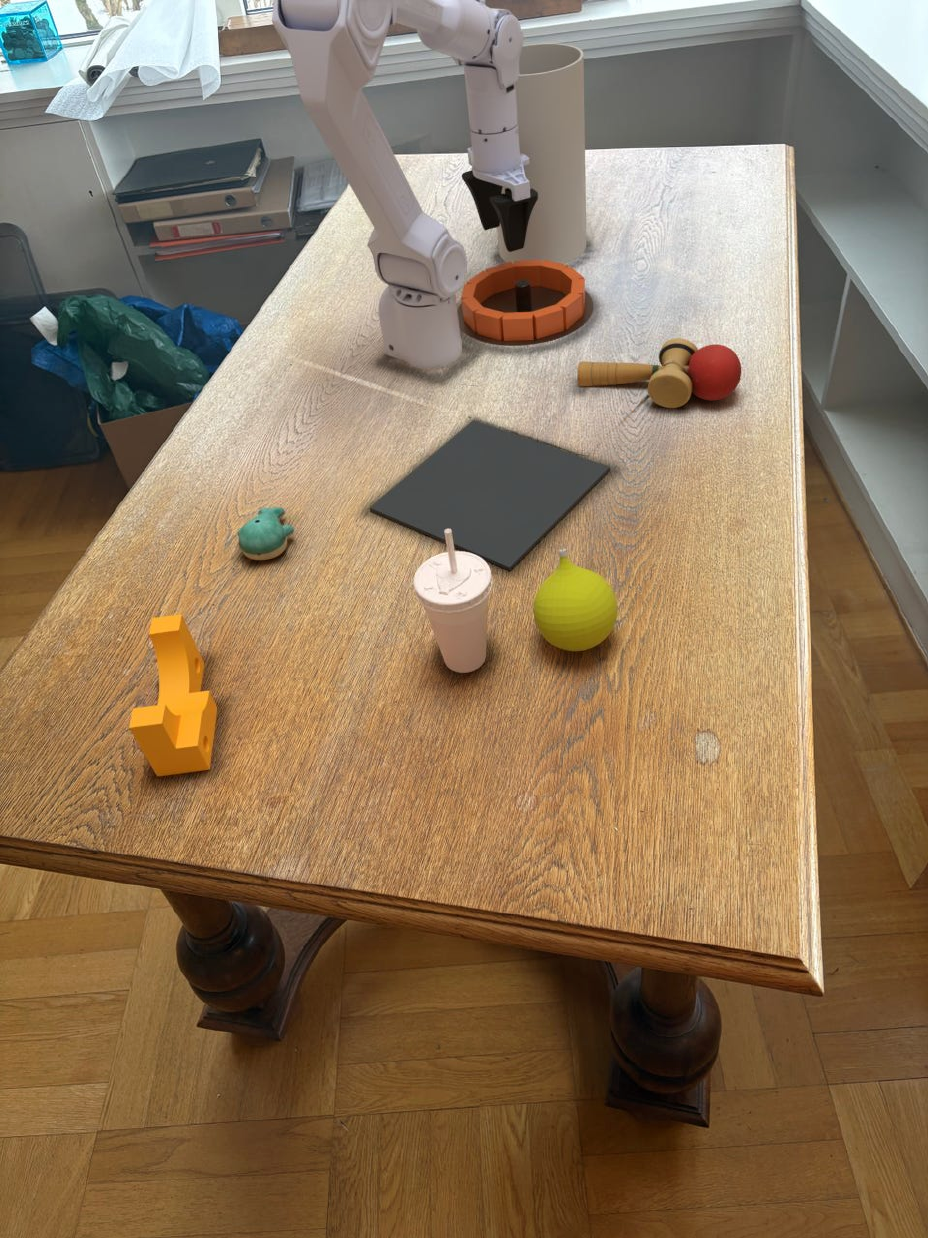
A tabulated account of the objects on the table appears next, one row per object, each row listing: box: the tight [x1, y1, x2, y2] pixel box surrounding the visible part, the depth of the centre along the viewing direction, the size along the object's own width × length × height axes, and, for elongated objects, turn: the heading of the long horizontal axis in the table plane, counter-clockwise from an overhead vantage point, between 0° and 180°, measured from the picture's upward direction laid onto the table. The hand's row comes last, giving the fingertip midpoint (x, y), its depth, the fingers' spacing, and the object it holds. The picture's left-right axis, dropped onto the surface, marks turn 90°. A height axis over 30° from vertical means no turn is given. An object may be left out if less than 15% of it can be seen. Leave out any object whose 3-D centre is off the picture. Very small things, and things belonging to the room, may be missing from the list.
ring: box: [460, 260, 586, 341], centre depth 122 cm, size 16×16×3 cm
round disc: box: [457, 279, 595, 347], centre depth 123 cm, size 18×18×4 cm
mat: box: [369, 419, 611, 572], centre depth 99 cm, size 18×18×1 cm
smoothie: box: [413, 529, 494, 674], centre depth 78 cm, size 6×6×14 cm
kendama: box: [577, 337, 742, 409], centre depth 107 cm, size 8×6×18 cm
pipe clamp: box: [128, 613, 218, 777], centre depth 79 cm, size 12×4×6 cm, turn 5°
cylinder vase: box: [496, 42, 588, 265], centre depth 127 cm, size 12×12×25 cm
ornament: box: [532, 536, 618, 652], centre depth 80 cm, size 7×7×10 cm
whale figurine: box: [237, 507, 295, 561], centre depth 96 cm, size 6×7×4 cm
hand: (503, 238), depth 122 cm, fingers open, 7 cm apart
